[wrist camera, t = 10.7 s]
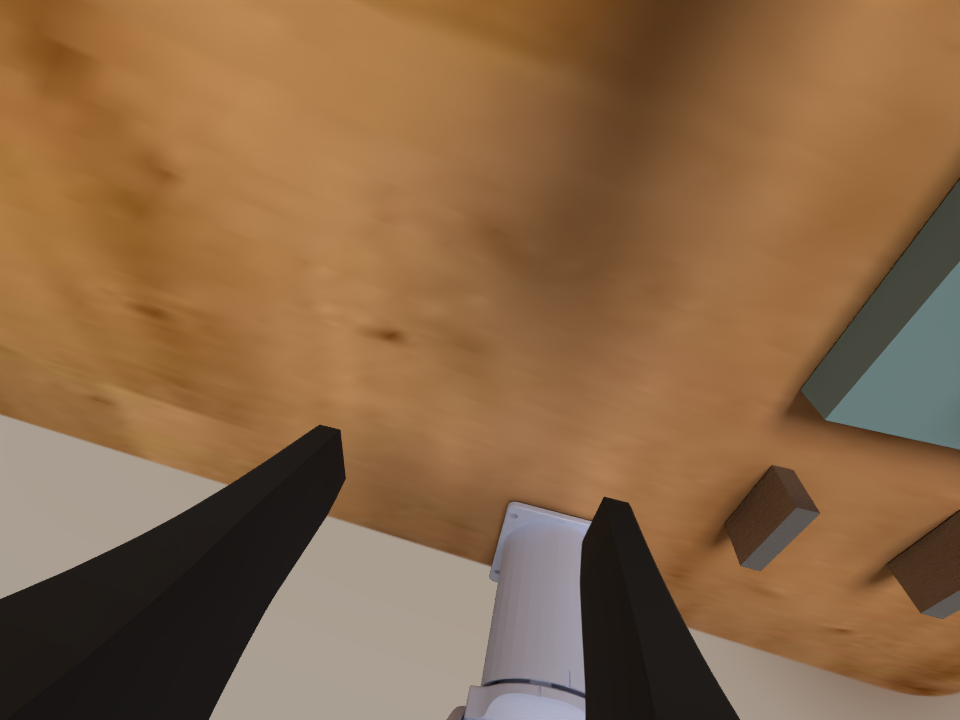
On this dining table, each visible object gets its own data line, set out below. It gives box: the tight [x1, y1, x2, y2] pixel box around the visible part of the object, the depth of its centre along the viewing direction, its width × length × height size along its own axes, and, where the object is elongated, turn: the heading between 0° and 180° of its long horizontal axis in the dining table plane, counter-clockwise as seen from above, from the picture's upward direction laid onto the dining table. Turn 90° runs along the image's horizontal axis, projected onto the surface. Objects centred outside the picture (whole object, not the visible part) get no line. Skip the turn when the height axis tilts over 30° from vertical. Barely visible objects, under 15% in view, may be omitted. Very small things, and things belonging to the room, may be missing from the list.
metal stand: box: [725, 466, 960, 619], centre depth 19 cm, size 5×10×2 cm, turn 82°
